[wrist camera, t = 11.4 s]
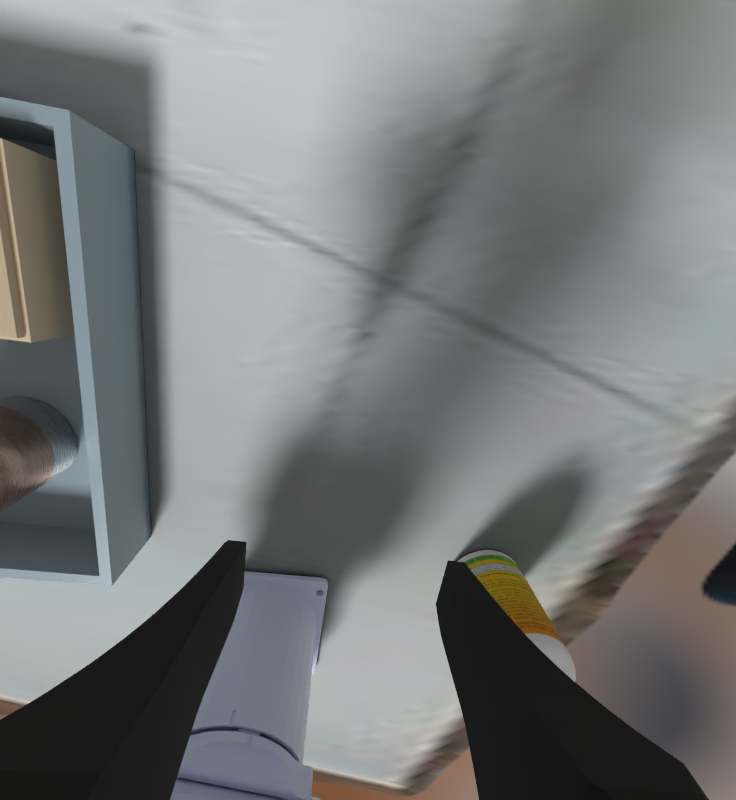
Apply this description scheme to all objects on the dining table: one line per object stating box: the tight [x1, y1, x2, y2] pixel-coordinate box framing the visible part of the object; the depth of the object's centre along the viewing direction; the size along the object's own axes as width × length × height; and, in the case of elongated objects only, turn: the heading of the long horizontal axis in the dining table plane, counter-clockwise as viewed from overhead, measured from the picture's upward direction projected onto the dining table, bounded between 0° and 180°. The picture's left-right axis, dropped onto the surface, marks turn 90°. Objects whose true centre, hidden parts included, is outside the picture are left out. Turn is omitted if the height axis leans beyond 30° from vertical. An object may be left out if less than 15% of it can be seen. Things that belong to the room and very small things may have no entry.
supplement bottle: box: [457, 550, 576, 682], centre depth 21 cm, size 5×5×10 cm
